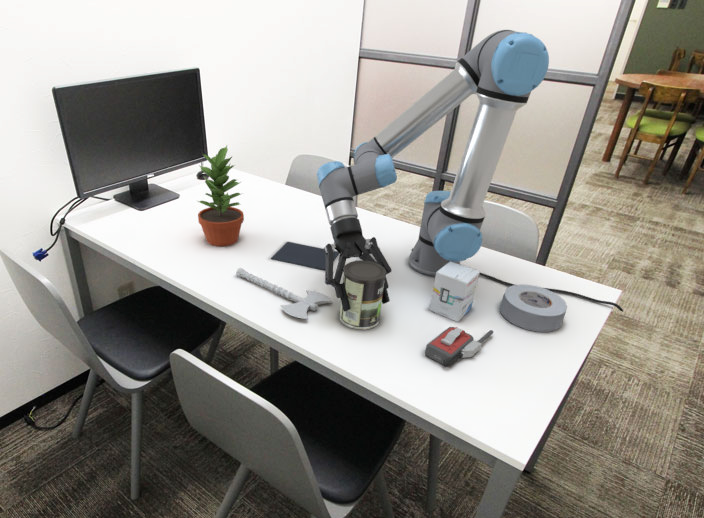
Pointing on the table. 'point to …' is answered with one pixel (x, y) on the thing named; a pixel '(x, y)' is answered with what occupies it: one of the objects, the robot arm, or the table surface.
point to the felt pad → (303, 255)
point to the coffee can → (363, 294)
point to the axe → (290, 296)
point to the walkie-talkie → (453, 345)
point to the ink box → (454, 290)
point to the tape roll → (533, 308)
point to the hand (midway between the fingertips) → (367, 306)
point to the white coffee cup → (369, 253)
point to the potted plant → (220, 204)
